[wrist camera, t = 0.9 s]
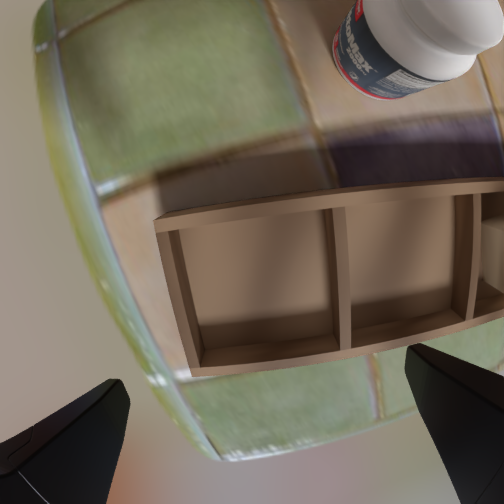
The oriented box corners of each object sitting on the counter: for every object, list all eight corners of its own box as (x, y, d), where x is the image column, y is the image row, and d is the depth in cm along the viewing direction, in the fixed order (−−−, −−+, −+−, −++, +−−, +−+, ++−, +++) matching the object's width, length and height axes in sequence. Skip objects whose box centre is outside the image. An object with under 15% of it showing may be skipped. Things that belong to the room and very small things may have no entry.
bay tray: (533, 175, 15) (556, 179, 13) (526, 288, 18) (545, 300, 15) (167, 212, 17) (153, 220, 14) (199, 352, 19) (192, 376, 16)
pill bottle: (325, 15, 14) (373, -80, 5) (408, 25, 13) (492, -38, 5) (335, 100, 15) (410, 44, 6) (421, 106, 15) (529, 79, 6)
